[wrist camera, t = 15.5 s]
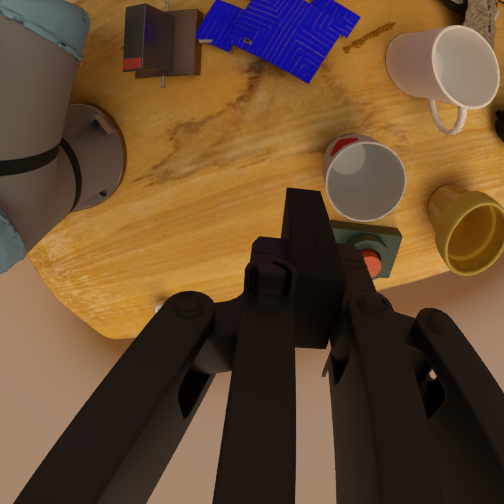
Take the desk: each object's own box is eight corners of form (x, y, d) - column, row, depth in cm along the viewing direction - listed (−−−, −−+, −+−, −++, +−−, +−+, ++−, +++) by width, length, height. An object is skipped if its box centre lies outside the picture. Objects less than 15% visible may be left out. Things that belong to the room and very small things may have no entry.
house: (245, -35, 24) (240, -51, 19) (355, 20, 26) (368, 12, 22) (199, 39, 29) (186, 34, 25) (308, 93, 32) (313, 96, 27)
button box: (321, 263, 44) (324, 280, 41) (330, 220, 41) (334, 234, 37) (384, 269, 44) (391, 286, 41) (397, 228, 40) (407, 243, 37)
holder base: (131, 88, 33) (120, 91, 30) (134, 11, 27) (123, 7, 25) (215, 86, 33) (209, 87, 30) (220, 3, 27) (215, -3, 24)
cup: (377, 124, 33) (408, 142, 25) (376, 185, 37) (403, 220, 29) (312, 125, 34) (324, 142, 26) (315, 188, 38) (326, 224, 30)
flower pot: (460, 243, 40) (489, 280, 32) (406, 232, 40) (432, 272, 32) (482, 182, 35) (521, 211, 27) (428, 164, 35) (464, 192, 27)
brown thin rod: (341, 48, 29) (346, 55, 29) (342, 47, 28) (348, 53, 28) (392, 20, 26) (397, 27, 26) (394, 18, 25) (399, 25, 25)
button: (349, 270, 40) (351, 278, 39) (355, 247, 38) (358, 255, 37) (374, 272, 40) (377, 280, 39) (381, 250, 38) (384, 257, 37)
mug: (444, 125, 32) (497, 150, 22) (386, 119, 33) (428, 141, 23) (444, 39, 26) (500, 35, 15) (382, 28, 27) (425, 13, 16)
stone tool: (487, 58, 26) (496, -33, 13) (496, 66, 25) (508, -27, 12) (448, 62, 27) (452, -40, 14) (457, 70, 27) (464, -35, 13)
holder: (157, 18, 26) (124, 6, 19) (174, 16, 26) (145, 2, 19) (155, 70, 29) (121, 72, 22) (171, 69, 29) (142, 70, 22)
